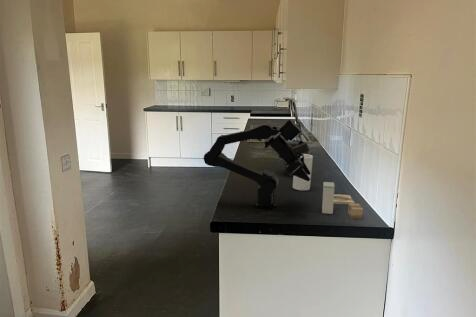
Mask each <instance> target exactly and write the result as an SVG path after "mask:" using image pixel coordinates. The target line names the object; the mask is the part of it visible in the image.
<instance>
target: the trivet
mask: <svg viewBox="0 0 476 317" xmlns="http://www.w3.org/2000/svg"><path fill="white" fill-rule="evenodd" d="M349 204H356V202H355V201H354V199H353V198H352V197H351V195H350V194H334V202H333V205H349Z"/></svg>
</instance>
